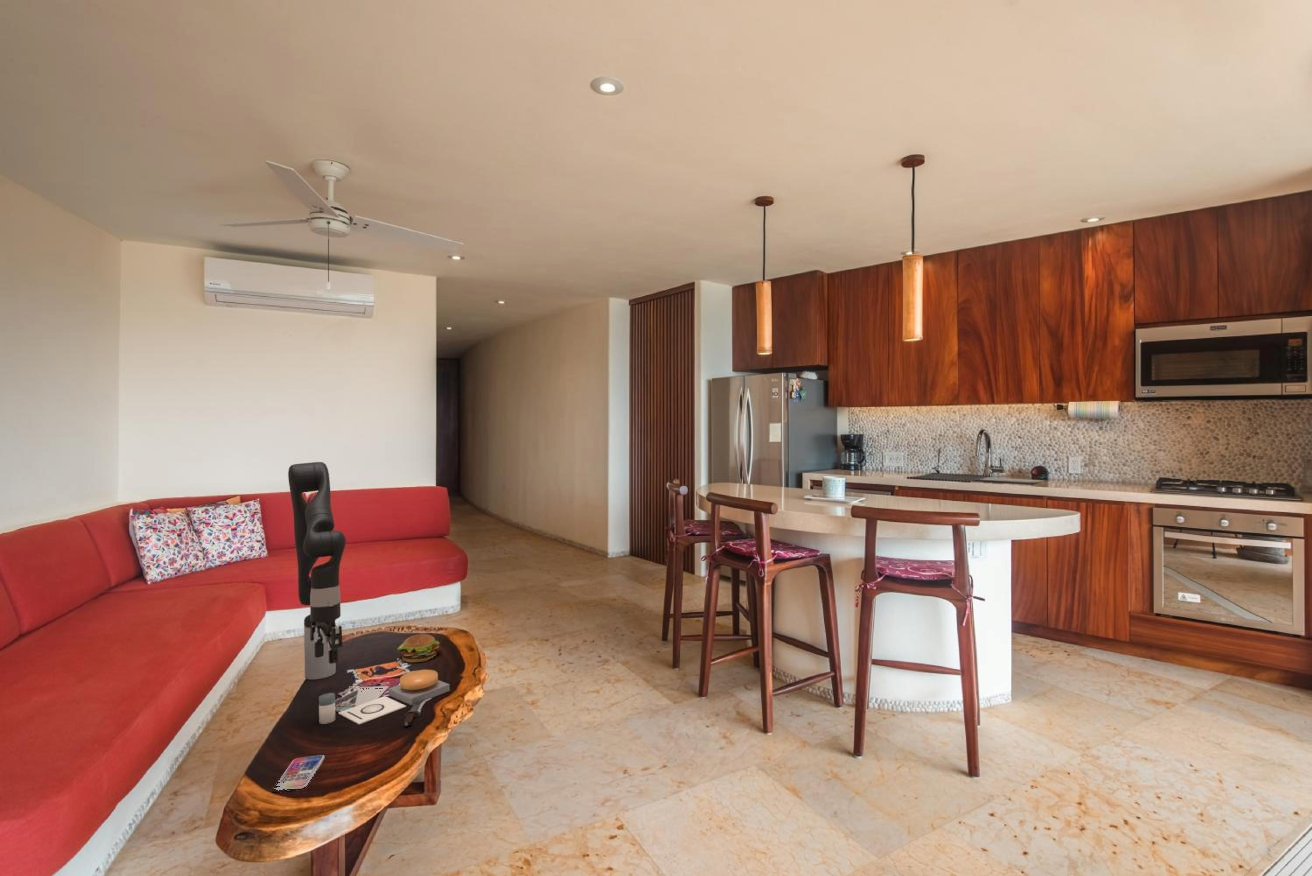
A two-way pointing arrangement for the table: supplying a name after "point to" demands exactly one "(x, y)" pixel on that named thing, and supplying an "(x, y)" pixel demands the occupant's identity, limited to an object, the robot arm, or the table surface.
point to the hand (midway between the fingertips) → (326, 659)
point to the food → (419, 648)
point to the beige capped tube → (326, 708)
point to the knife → (414, 712)
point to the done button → (418, 679)
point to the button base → (418, 692)
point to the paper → (371, 710)
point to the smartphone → (300, 772)
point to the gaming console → (369, 693)
